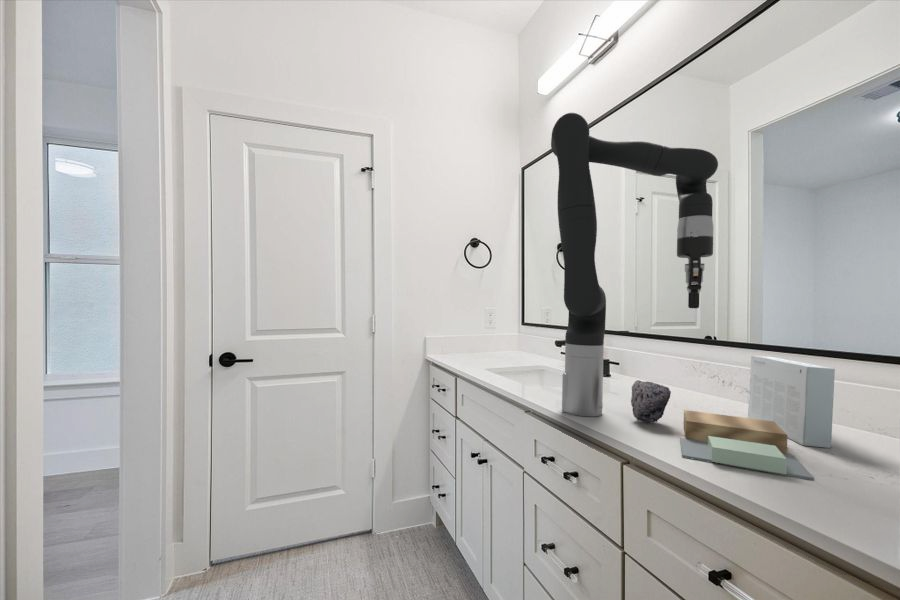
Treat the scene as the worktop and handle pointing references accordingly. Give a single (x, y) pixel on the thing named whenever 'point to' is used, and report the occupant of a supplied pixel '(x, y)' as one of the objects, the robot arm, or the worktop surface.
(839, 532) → the worktop surface
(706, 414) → the light wood block
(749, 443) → the soap bar
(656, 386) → the pumice stone
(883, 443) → the worktop surface
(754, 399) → the skincare box
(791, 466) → the mat
